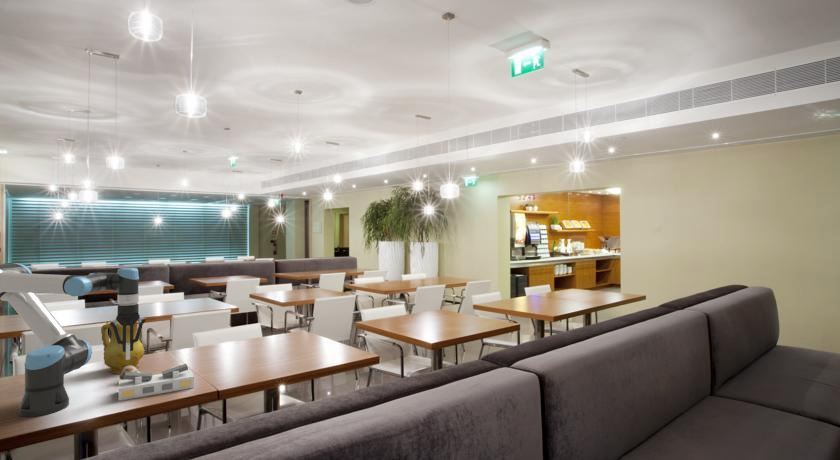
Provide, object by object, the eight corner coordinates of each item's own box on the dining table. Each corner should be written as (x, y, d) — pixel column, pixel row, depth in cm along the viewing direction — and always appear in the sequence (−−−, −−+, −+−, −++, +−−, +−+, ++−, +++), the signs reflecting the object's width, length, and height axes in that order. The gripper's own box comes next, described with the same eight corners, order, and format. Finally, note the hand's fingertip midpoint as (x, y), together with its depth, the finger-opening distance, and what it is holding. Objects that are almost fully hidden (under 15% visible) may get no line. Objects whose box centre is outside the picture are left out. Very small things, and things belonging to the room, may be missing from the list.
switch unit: (118, 401, 180) (118, 382, 180) (118, 391, 190) (118, 373, 190) (194, 387, 196) (194, 370, 196) (190, 379, 206) (190, 363, 206)
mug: (140, 384, 201) (127, 366, 199) (125, 391, 203) (112, 374, 201) (152, 375, 208) (140, 357, 206) (137, 382, 210) (125, 365, 208)
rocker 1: (124, 379, 184) (125, 375, 184) (124, 376, 189) (125, 372, 189) (151, 380, 190) (152, 376, 190) (150, 377, 194) (151, 372, 194)
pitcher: (113, 376, 208) (114, 323, 210) (95, 371, 218) (96, 321, 219) (150, 368, 223) (151, 318, 224) (132, 363, 233) (133, 316, 234)
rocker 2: (163, 378, 192) (162, 374, 192) (162, 375, 197) (161, 371, 197) (188, 369, 198) (187, 366, 198) (186, 366, 202) (186, 363, 202)
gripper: (109, 306, 180) (109, 363, 180) (146, 303, 188) (146, 358, 188) (109, 304, 186) (109, 359, 186) (145, 301, 194) (145, 354, 194)
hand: (127, 358), depth 187 cm, fingers closed
